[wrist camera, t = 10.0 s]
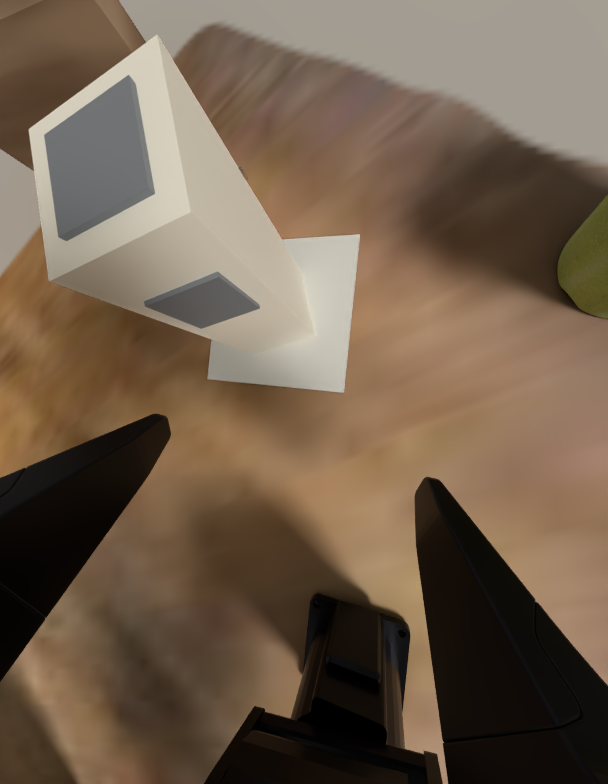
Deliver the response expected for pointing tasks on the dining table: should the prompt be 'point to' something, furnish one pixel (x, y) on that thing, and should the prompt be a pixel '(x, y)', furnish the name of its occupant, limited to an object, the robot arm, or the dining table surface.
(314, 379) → the felt pad
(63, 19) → the walnut screen
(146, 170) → the cream block grey panels
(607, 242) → the plant pot
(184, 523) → the dining table surface
